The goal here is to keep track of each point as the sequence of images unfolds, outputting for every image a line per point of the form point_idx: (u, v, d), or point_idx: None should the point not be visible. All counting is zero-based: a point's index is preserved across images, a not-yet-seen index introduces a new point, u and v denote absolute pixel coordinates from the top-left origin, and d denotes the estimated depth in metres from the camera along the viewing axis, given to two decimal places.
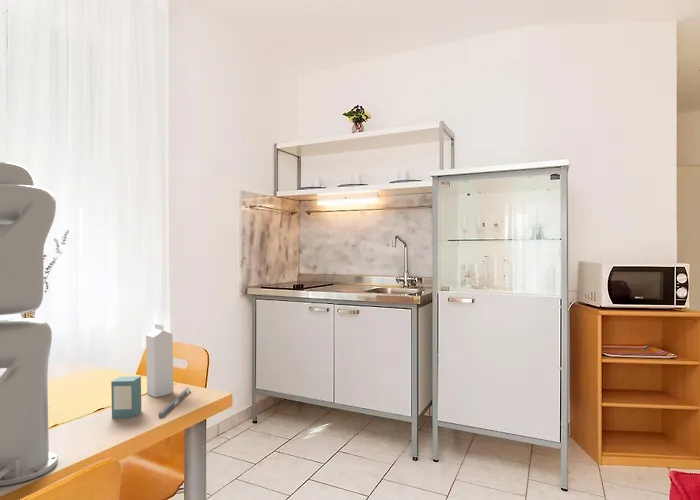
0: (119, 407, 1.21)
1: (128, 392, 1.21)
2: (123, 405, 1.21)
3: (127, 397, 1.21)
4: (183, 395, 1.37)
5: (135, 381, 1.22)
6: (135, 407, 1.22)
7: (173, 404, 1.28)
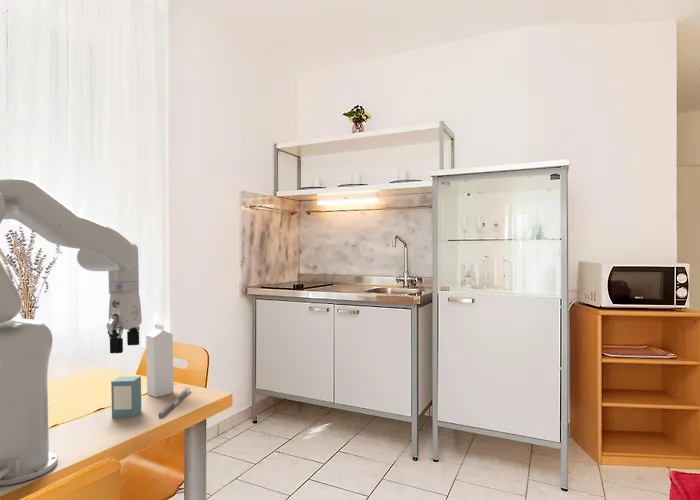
0: (119, 407, 1.21)
1: (128, 392, 1.21)
2: (123, 405, 1.21)
3: (127, 397, 1.21)
4: (183, 395, 1.37)
5: (135, 381, 1.22)
6: (135, 407, 1.22)
7: (173, 404, 1.28)
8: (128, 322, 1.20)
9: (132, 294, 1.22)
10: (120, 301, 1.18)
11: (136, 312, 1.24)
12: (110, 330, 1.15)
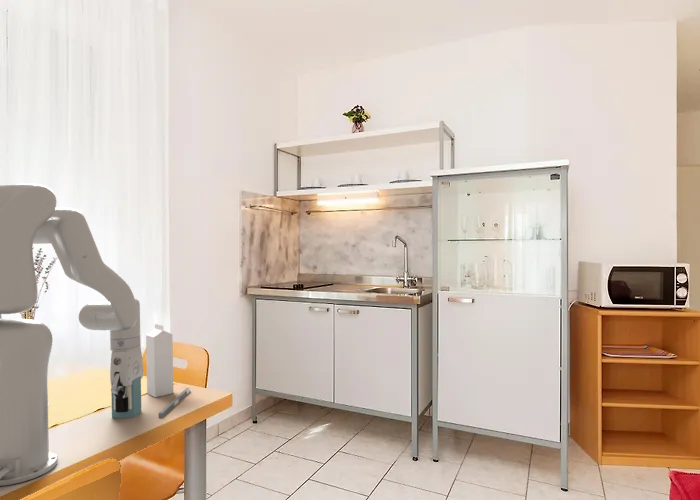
0: None
1: (128, 392, 1.21)
2: None
3: None
4: (183, 395, 1.37)
5: (135, 381, 1.22)
6: (135, 407, 1.22)
7: (173, 404, 1.28)
8: (129, 379, 1.20)
9: (134, 350, 1.22)
10: (122, 359, 1.18)
11: (138, 367, 1.24)
12: (115, 393, 1.17)
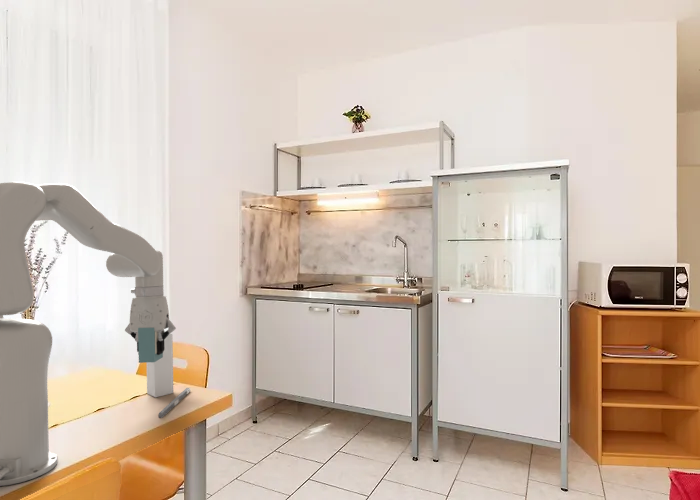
0: None
1: None
2: None
3: None
4: (183, 395, 1.37)
5: (142, 329, 1.27)
6: (141, 354, 1.27)
7: (173, 404, 1.28)
8: (133, 325, 1.27)
9: (143, 299, 1.27)
10: None
11: (150, 318, 1.27)
12: None
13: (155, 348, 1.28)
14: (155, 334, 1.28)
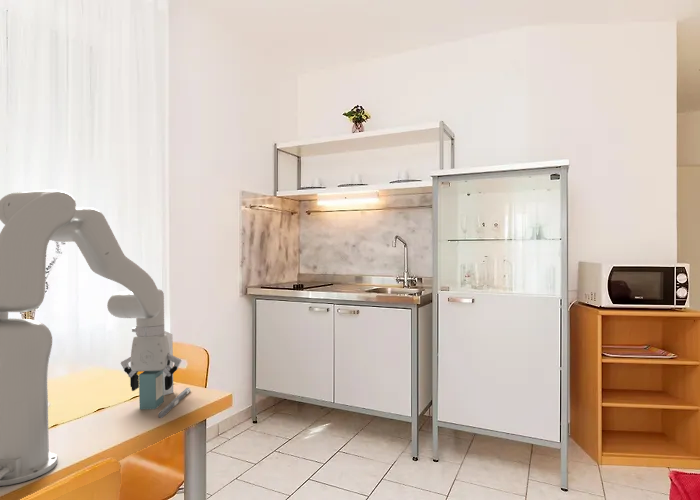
0: None
1: None
2: None
3: None
4: (183, 395, 1.37)
5: (143, 376, 1.27)
6: (142, 401, 1.27)
7: (173, 404, 1.28)
8: (134, 364, 1.27)
9: (144, 339, 1.27)
10: None
11: (151, 357, 1.27)
12: None
13: (156, 394, 1.28)
14: (156, 380, 1.28)
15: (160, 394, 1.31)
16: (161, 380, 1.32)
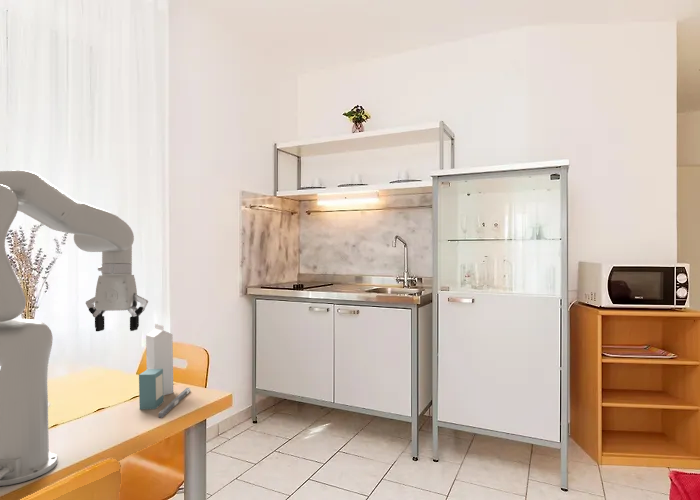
0: None
1: None
2: None
3: None
4: (183, 395, 1.37)
5: (143, 376, 1.27)
6: (142, 401, 1.27)
7: (173, 404, 1.28)
8: (98, 303, 1.23)
9: (109, 277, 1.23)
10: None
11: (115, 296, 1.23)
12: None
13: (156, 394, 1.28)
14: (156, 380, 1.28)
15: (160, 394, 1.31)
16: (161, 380, 1.32)
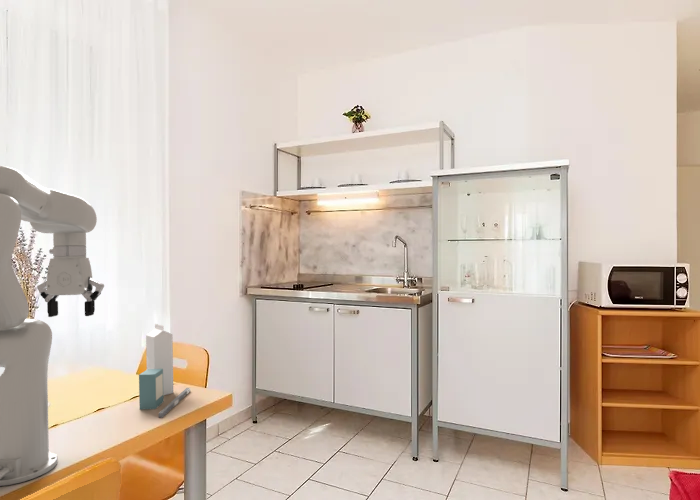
0: None
1: None
2: None
3: None
4: (183, 395, 1.37)
5: (143, 376, 1.27)
6: (142, 401, 1.27)
7: (173, 404, 1.28)
8: (50, 287, 1.17)
9: (61, 260, 1.17)
10: None
11: (68, 279, 1.17)
12: None
13: (156, 394, 1.28)
14: (156, 380, 1.28)
15: (160, 394, 1.31)
16: (161, 380, 1.32)
